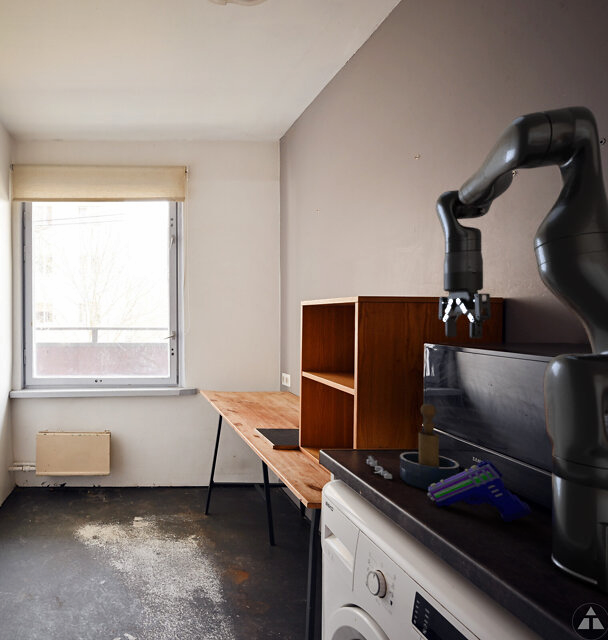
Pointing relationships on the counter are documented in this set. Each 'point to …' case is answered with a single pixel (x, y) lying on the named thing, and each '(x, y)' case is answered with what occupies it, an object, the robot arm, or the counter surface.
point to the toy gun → (479, 491)
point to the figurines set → (378, 468)
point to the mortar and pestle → (428, 439)
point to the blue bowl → (425, 470)
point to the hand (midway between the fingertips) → (463, 337)
